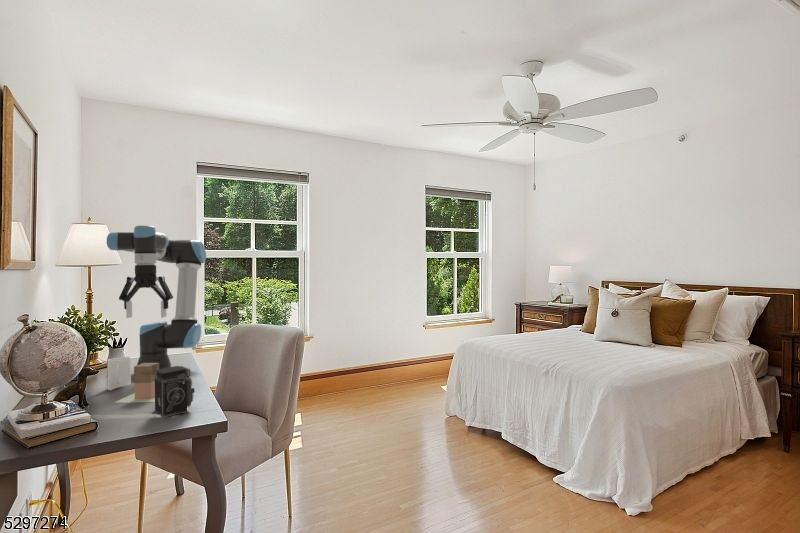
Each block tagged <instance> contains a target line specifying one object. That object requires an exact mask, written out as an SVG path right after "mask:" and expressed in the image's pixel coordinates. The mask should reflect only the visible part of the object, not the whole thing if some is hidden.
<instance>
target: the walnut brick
mask: <svg viewBox="0 0 800 533" xmlns="http://www.w3.org/2000/svg"><path fill="white" fill-rule="evenodd" d="M158 369H159V363H142V364H139V365H137V364H136V365H134V366H133V381H134V382H133V383H134V384H135V383H151V382H153V381H155V377H157V375H155V370H158Z"/></svg>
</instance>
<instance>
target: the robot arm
mask: <svg viewBox="0 0 800 533" xmlns="http://www.w3.org/2000/svg"><path fill="white" fill-rule="evenodd" d="M106 246H107V248H108V249H109V250H110V251H117V252H118V251H124V252H129V253H133V254H134V263H135V265H134V275H135V276H126V282H125V284H124V286H123V288H122V290H121V292H120V295H119V297H118V300H119V301H123V303H124V304H123V309H124V310H126V319H130V318H133V300H131V299H132V298H133V297H134V296H135V294H136V293H137V292H138V291H139V290H140V289H143V288H144V289H145V288H147V289H148V288H149V289H152V290H153V291H154V292H155V294H157V295H158V296H159V297H160V299H161V300H160V317H161V318H165V317H166V318H167V310H168V309H169V300H172V299H173V298H174V295H173V294H172V292H171V290H170V288H169V287H168V284H167V283H166V279H165V278H166V277H165V276H164V275H163V276H162V275H161V276H157V265H156V264H157V261H159V262H163V263H166V264H167V263H169V264H175V266H176V267H177V269H178V276H177V291H176V299H175V300H176V303H175V315H174V317H173V318H172V319H171V321H170V323H169V324H168V321H157V322H151V323H146V324H142V325H141V326H140V328H139V333H138V334H139V358H138V361H137V363H136V365H139V364H142V363H159V369H164V368H169V367H172V362H171V361H170V360H171V359H170V357H169V354H168V349H190V348H191V349H193V348H195V347H196V346H197V345H198V344H199V342H200V340H201V335H202V325H201V324H200V323H198V319H197V318H196V317H195V315H196V314H195V313H196V298H197V288H198V287H197V285H198V271H199V269H201V268H202V264H205V263H206V261H207V253H206V248H205V245H204V243H203V242H202V241H201V240H200V239H199V240H196V239H169V238H168V236H167V235H166V234H165V233H162V232H160V231H158V232H157V231H156V227H155V226H153V225H136V226H134V228H133V232H127V231H126V232H123V231H122V232H119V231H116V232H109V233H108V235H107V237H106ZM134 282H135V284H134V285H133V283H134ZM157 282H158V283H159V285H160V287H161V288H160V287H159V285H158V284H157ZM132 285H133V287H132Z"/></svg>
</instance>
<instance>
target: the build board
mask: <svg viewBox="0 0 800 533" xmlns="http://www.w3.org/2000/svg"><path fill="white" fill-rule="evenodd" d="M114 403H116V404H117V403H118V404H119V403H120V404H121V403H125V404H126V403H155V397H154V398H152V399H135V392H133V393H131V394H129V395H127V396H125V397H123V398H121V399H119V400H116V401H114Z"/></svg>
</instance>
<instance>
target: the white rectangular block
mask: <svg viewBox="0 0 800 533" xmlns="http://www.w3.org/2000/svg"><path fill="white" fill-rule="evenodd" d="M131 361H132V359H131V357H130V356H129V357H128V356H120V357H113V358H109V359H107V388H106V390H107V391H113V390H115V389H117V388H123V387H128V386H130V385H131V384H132V380H131V378H132V377H131V376H132V374H131V372H132V371H131V368H132V367H131V365H132V364H131Z"/></svg>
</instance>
